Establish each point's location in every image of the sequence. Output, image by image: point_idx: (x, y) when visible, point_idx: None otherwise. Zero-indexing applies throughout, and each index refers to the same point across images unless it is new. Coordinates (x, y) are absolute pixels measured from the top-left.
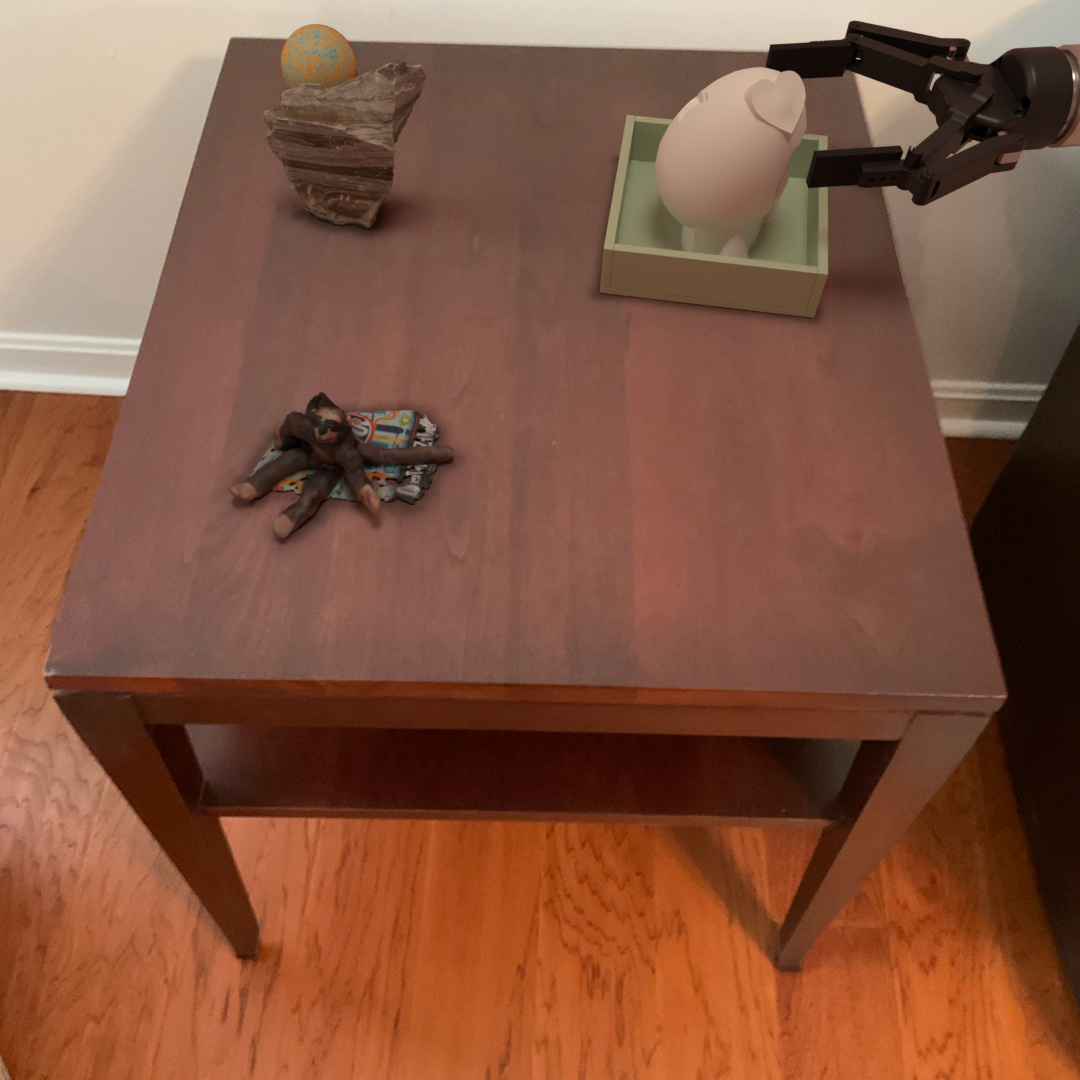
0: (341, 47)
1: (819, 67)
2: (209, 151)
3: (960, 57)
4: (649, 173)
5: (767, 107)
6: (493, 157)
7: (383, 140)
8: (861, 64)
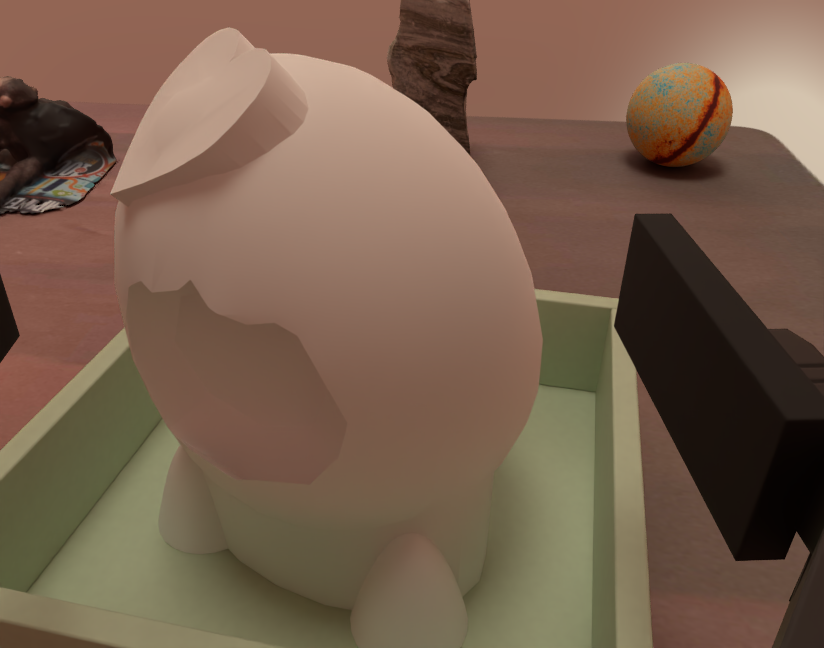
0: (682, 91)
1: (693, 417)
2: (546, 120)
3: None
4: (551, 415)
5: (173, 95)
6: (581, 264)
7: (392, 43)
8: (796, 590)
